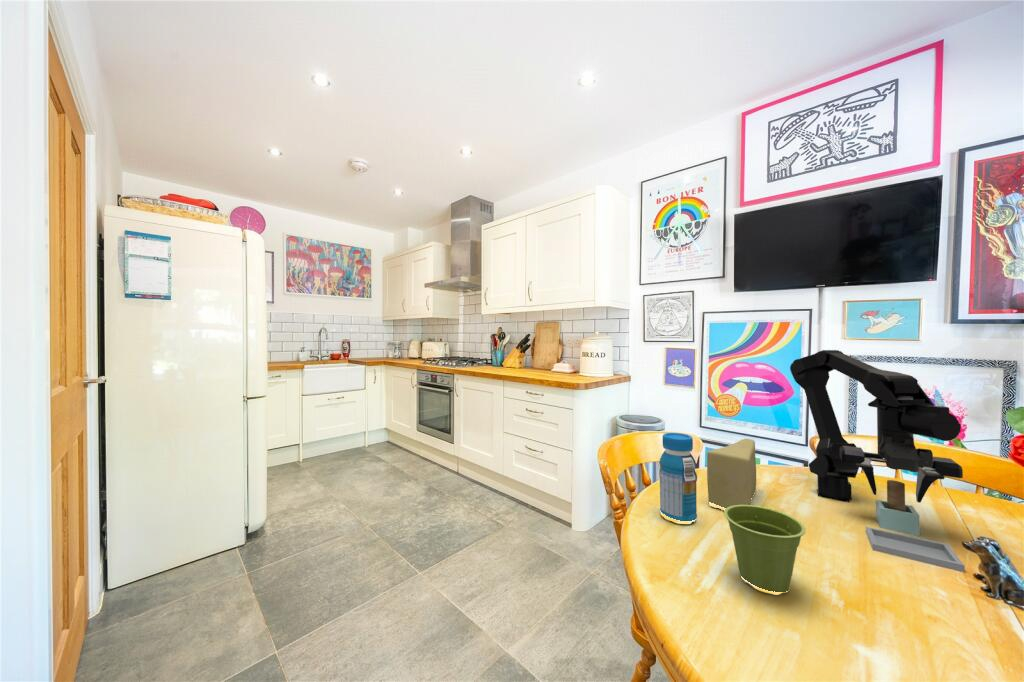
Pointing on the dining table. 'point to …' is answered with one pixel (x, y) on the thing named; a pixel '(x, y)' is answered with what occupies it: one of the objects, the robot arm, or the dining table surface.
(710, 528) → the dining table surface
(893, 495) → the dowel
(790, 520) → the plant pot
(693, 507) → the beverage bottle
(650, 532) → the dining table surface
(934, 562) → the tray
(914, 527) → the open box
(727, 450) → the cheese
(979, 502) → the dining table surface
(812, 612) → the dining table surface
